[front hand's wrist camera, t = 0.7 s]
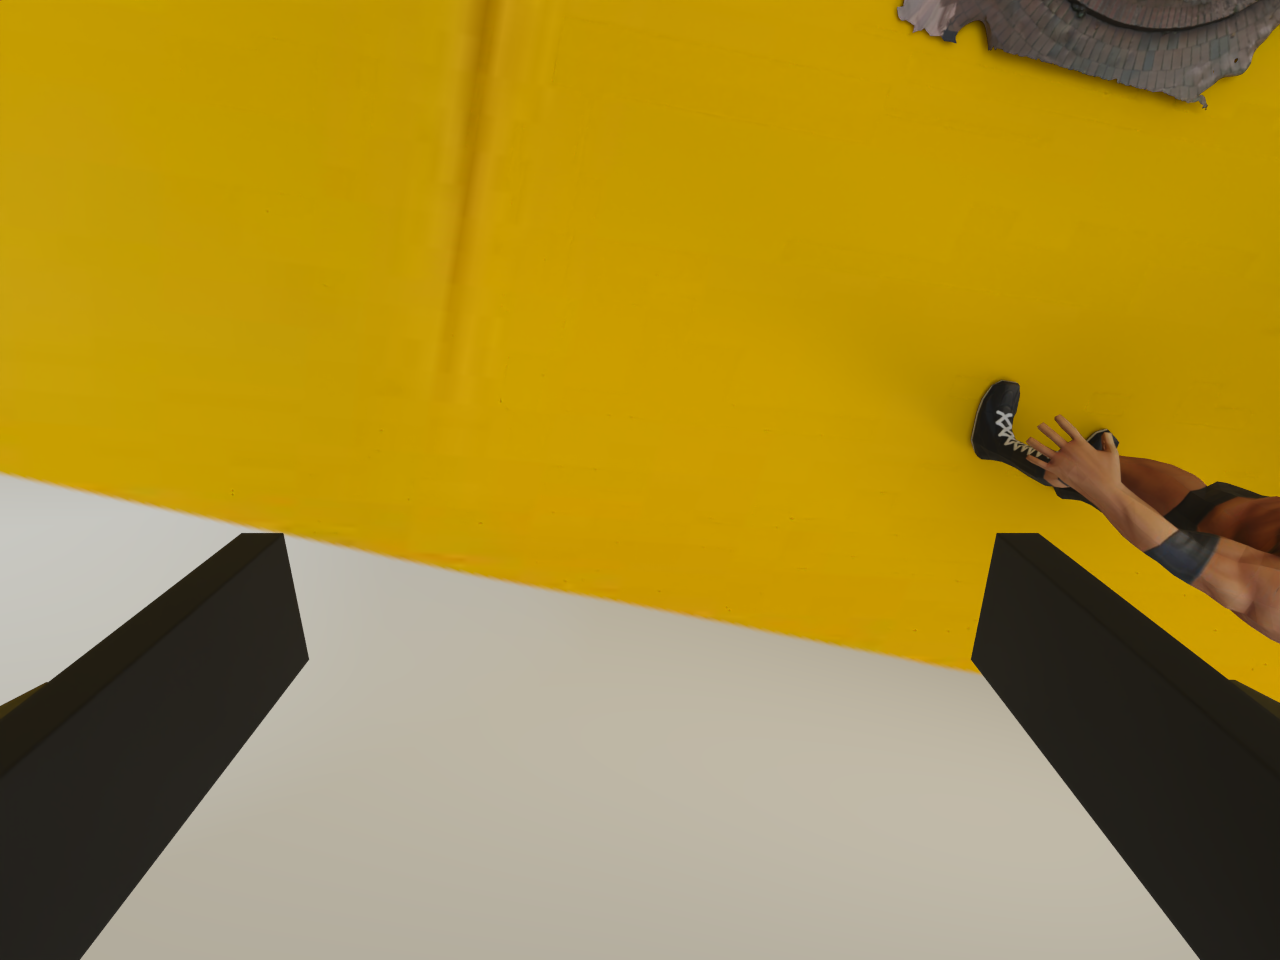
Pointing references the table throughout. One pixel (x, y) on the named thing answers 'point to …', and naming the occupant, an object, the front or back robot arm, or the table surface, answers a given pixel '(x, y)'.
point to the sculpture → (1116, 36)
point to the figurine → (1154, 508)
